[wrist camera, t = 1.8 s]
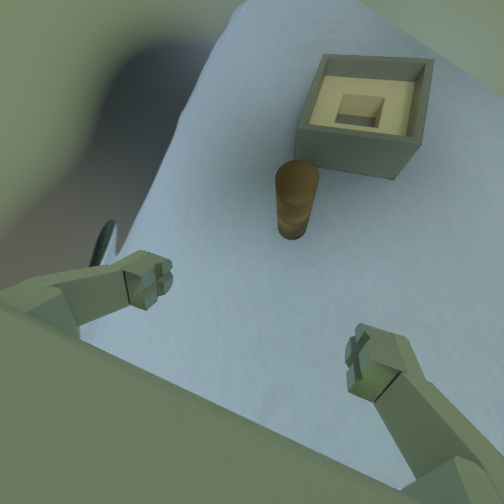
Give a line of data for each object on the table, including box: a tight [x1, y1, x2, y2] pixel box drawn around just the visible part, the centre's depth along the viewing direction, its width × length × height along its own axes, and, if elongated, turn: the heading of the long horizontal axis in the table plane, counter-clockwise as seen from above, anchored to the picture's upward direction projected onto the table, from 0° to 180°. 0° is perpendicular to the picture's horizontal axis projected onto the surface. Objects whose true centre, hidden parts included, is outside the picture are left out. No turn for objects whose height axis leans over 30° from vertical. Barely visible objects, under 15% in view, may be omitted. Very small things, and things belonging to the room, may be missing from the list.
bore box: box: [294, 54, 434, 180], centre depth 33 cm, size 16×16×7 cm
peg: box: [275, 160, 319, 240], centre depth 27 cm, size 4×4×12 cm
